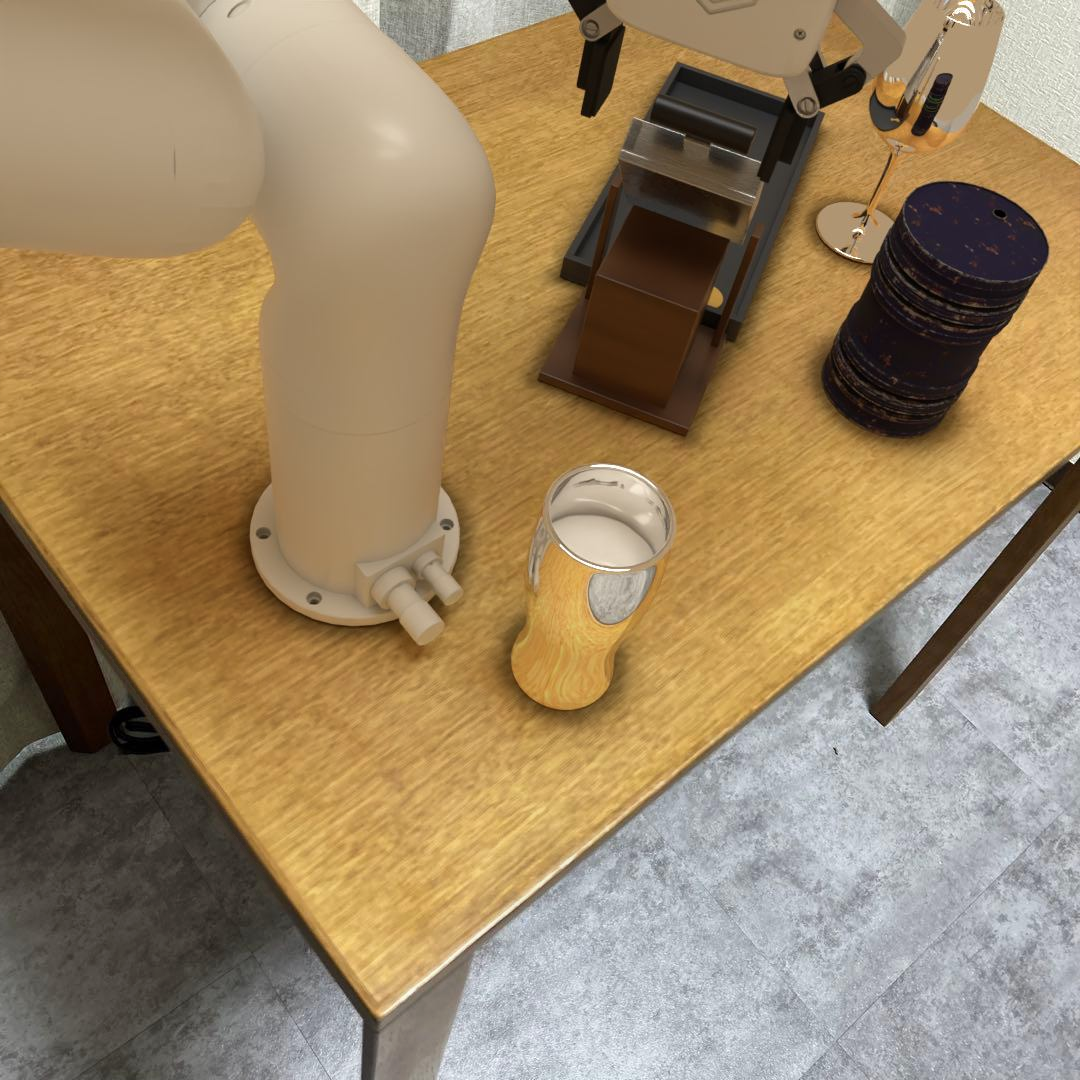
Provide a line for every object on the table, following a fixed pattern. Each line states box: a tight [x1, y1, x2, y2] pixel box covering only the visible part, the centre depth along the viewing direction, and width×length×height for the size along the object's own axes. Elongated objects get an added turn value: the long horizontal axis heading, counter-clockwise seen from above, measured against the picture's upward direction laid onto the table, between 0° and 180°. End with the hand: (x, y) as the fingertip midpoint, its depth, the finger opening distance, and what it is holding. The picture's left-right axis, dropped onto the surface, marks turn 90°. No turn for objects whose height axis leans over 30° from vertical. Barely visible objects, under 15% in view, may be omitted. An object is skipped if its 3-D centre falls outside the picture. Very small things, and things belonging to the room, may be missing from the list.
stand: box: [537, 172, 765, 437], centre depth 76 cm, size 10×11×11 cm
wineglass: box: [815, 0, 1006, 265], centre depth 85 cm, size 8×8×20 cm
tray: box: [559, 61, 826, 343], centre depth 92 cm, size 30×14×2 cm, turn 159°
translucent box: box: [617, 92, 764, 245], centre depth 70 cm, size 14×9×4 cm
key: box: [707, 287, 723, 309], centre depth 85 cm, size 7×3×1 cm, turn 5°
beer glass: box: [510, 461, 678, 711], centre depth 59 cm, size 7×7×15 cm
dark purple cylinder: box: [820, 180, 1050, 439], centre depth 77 cm, size 10×10×15 cm
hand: (681, 135), depth 58 cm, fingers open, 9 cm apart
